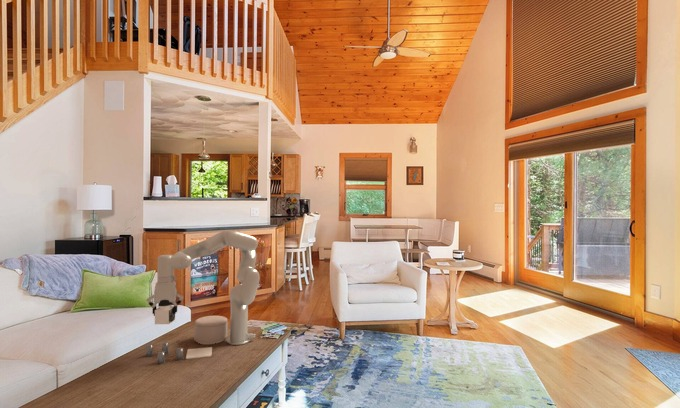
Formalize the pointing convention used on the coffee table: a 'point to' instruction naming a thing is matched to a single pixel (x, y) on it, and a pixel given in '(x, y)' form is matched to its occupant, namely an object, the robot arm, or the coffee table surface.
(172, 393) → the coffee table surface
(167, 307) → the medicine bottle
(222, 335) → the container
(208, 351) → the pad
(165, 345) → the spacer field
